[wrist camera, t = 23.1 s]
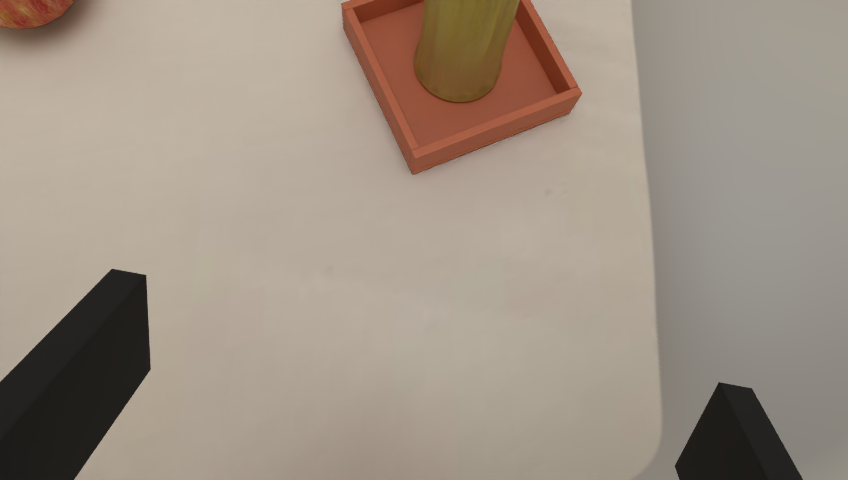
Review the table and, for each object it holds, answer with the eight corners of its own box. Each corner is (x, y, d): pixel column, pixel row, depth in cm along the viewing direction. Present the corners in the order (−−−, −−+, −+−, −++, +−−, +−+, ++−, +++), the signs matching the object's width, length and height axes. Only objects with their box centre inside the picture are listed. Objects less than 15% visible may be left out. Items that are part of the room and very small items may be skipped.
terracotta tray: (570, 113, 45) (582, 93, 42) (412, 175, 42) (414, 158, 40) (494, -25, 47) (502, -51, 44) (343, 27, 45) (341, 2, 42)
